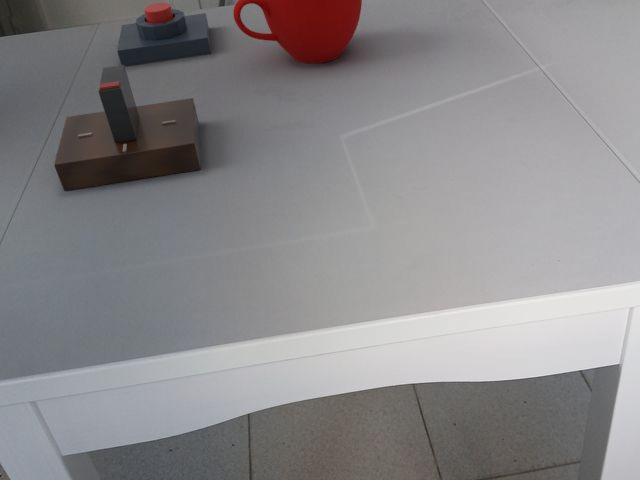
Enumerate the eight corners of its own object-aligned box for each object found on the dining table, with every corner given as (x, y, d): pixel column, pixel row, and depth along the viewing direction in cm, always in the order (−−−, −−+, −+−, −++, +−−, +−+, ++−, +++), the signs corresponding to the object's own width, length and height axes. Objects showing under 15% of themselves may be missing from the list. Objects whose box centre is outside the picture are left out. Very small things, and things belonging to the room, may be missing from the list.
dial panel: (64, 191, 74) (53, 163, 72) (75, 141, 82) (65, 115, 80) (200, 169, 75) (193, 141, 73) (198, 123, 83) (192, 96, 81)
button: (146, 26, 97) (143, 13, 96) (147, 18, 100) (144, 4, 99) (173, 23, 98) (170, 9, 96) (173, 14, 100) (170, 0, 99)
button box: (121, 67, 97) (112, 36, 94) (126, 40, 104) (117, 11, 102) (211, 54, 98) (204, 23, 95) (208, 28, 105) (203, -1, 102)
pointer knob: (118, 118, 78) (102, 65, 75) (138, 115, 79) (123, 62, 75) (115, 143, 74) (97, 89, 70) (136, 140, 74) (120, 85, 70)
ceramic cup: (225, 60, 96) (209, -22, 89) (336, 27, 101) (329, -52, 94) (266, 92, 87) (252, 5, 81) (385, 55, 93) (381, -30, 86)
